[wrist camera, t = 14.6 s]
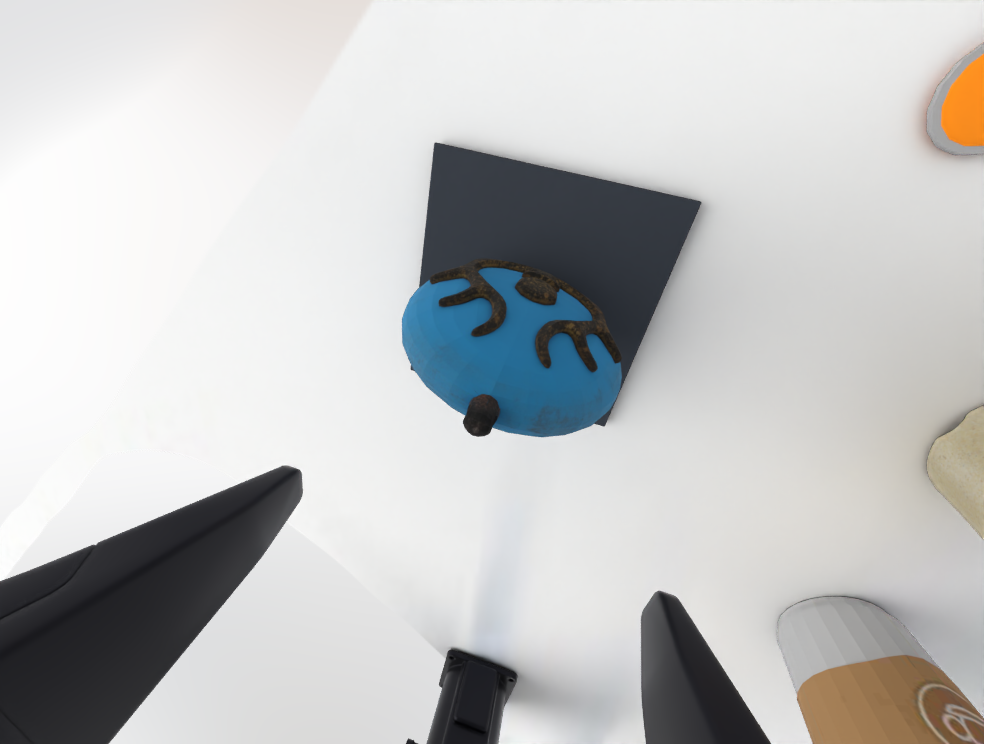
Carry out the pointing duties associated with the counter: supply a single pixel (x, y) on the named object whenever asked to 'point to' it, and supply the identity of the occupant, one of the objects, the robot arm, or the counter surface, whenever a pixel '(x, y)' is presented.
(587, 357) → the ornament
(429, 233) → the mat
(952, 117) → the key chain
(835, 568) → the counter surface
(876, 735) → the coffee cup
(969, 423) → the flower pot
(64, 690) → the robot arm
